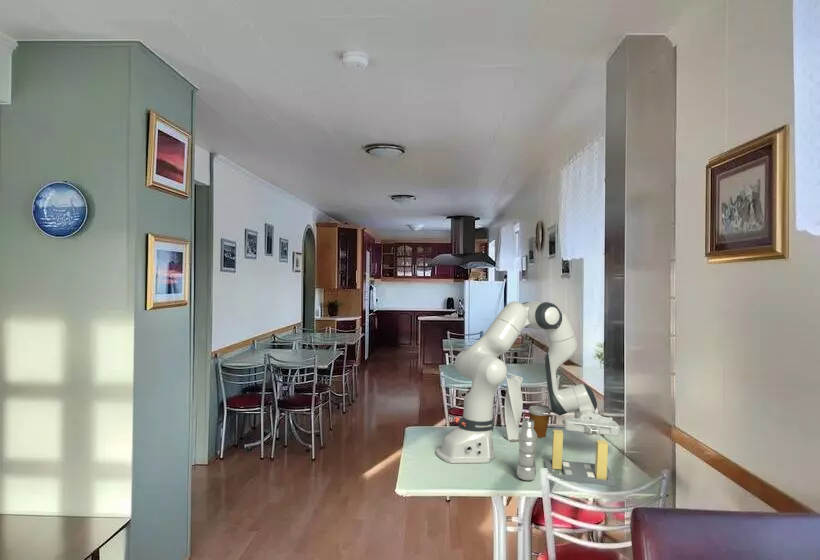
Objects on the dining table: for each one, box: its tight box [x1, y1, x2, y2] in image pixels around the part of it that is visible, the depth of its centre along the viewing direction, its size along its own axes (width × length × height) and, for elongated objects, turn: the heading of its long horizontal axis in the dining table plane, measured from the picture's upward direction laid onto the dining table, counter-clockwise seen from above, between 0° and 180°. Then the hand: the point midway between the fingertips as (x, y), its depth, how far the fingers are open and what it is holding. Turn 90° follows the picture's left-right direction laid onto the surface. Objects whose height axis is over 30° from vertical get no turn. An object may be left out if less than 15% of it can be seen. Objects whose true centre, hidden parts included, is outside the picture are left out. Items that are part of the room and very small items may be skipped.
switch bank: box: [544, 458, 616, 487], centre depth 188 cm, size 16×22×2 cm
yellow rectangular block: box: [551, 429, 564, 470], centre depth 193 cm, size 4×3×13 cm
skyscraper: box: [503, 372, 526, 443], centre depth 225 cm, size 8×8×28 cm
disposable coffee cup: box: [527, 405, 552, 439], centre depth 231 cm, size 10×10×12 cm
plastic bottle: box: [516, 418, 538, 481], centre depth 181 cm, size 6×7×20 cm
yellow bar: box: [594, 439, 609, 480], centre depth 183 cm, size 4×3×13 cm
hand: (594, 432), depth 197 cm, fingers closed
